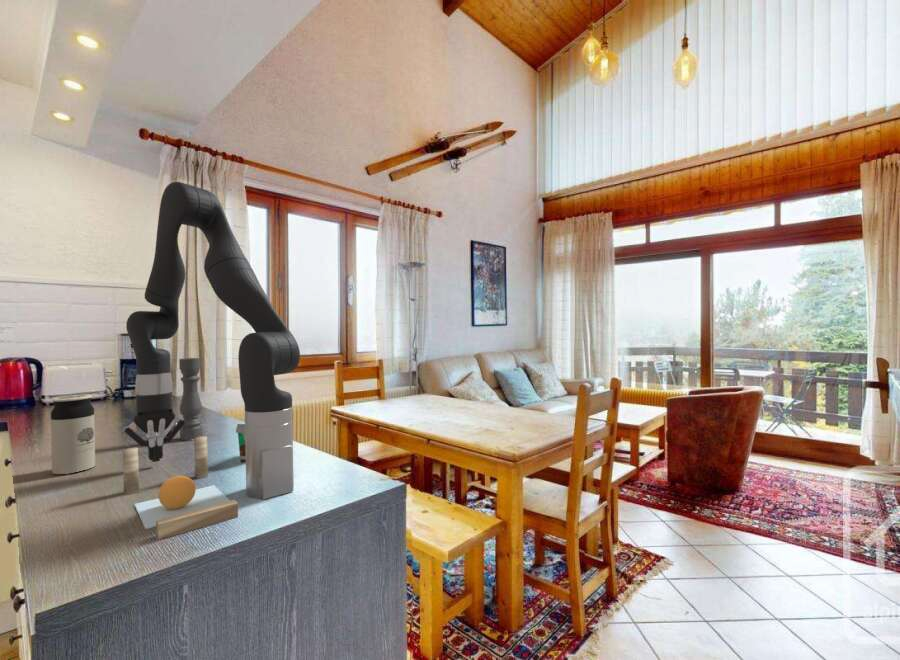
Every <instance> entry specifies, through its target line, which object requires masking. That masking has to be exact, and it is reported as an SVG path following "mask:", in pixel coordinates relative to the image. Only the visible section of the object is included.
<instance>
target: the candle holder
mask: <svg viewBox="0 0 900 660" xmlns="http://www.w3.org/2000/svg"><path fill="white" fill-rule="evenodd" d="M178 360H179V370H180V373H181V374H182V377H180V381H181V382H182V384H183V392H182V393H183V394H182V396H181V401H180V405H179V412H180V415H182V418H183V419H182V420H183V421H184V422H185V423H184V425H183V426H182V427H181V429H180V430H179V440H180V439H181V440H180V441H182V440H190V441H192V440H191V439H194V438H196V437H200V436H204V433H203V431H204V430H203V427H204V426H203V425H202V420H201V419H200V418H199V417H200V414H201V413H202V410H203V405H202V401H201V398H200V395H199V390H198V387H199V386H198V382H199V381H200V380H201V378H200V376H198V374H199V372H200V369H201V358H200V357H189V358H179V359H178Z"/></svg>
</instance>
